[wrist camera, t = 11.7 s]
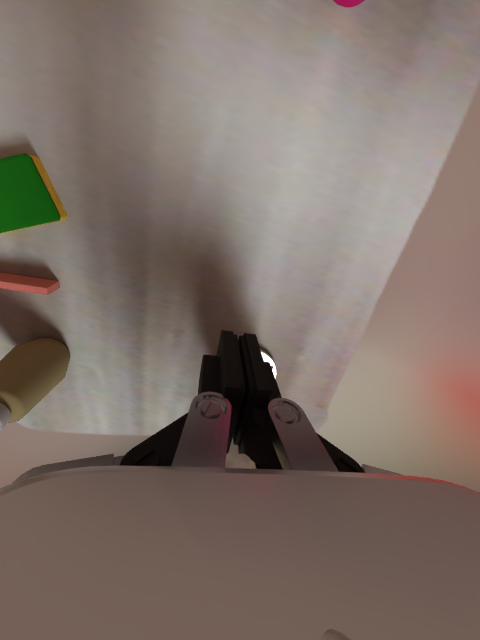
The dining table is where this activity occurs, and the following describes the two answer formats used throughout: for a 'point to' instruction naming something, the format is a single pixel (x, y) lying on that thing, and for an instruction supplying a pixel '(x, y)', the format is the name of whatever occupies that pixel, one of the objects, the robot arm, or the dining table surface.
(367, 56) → the dining table surface
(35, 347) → the squeeze bottle
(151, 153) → the dining table surface
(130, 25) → the dining table surface
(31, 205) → the dish sponge
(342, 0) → the pepper mill
